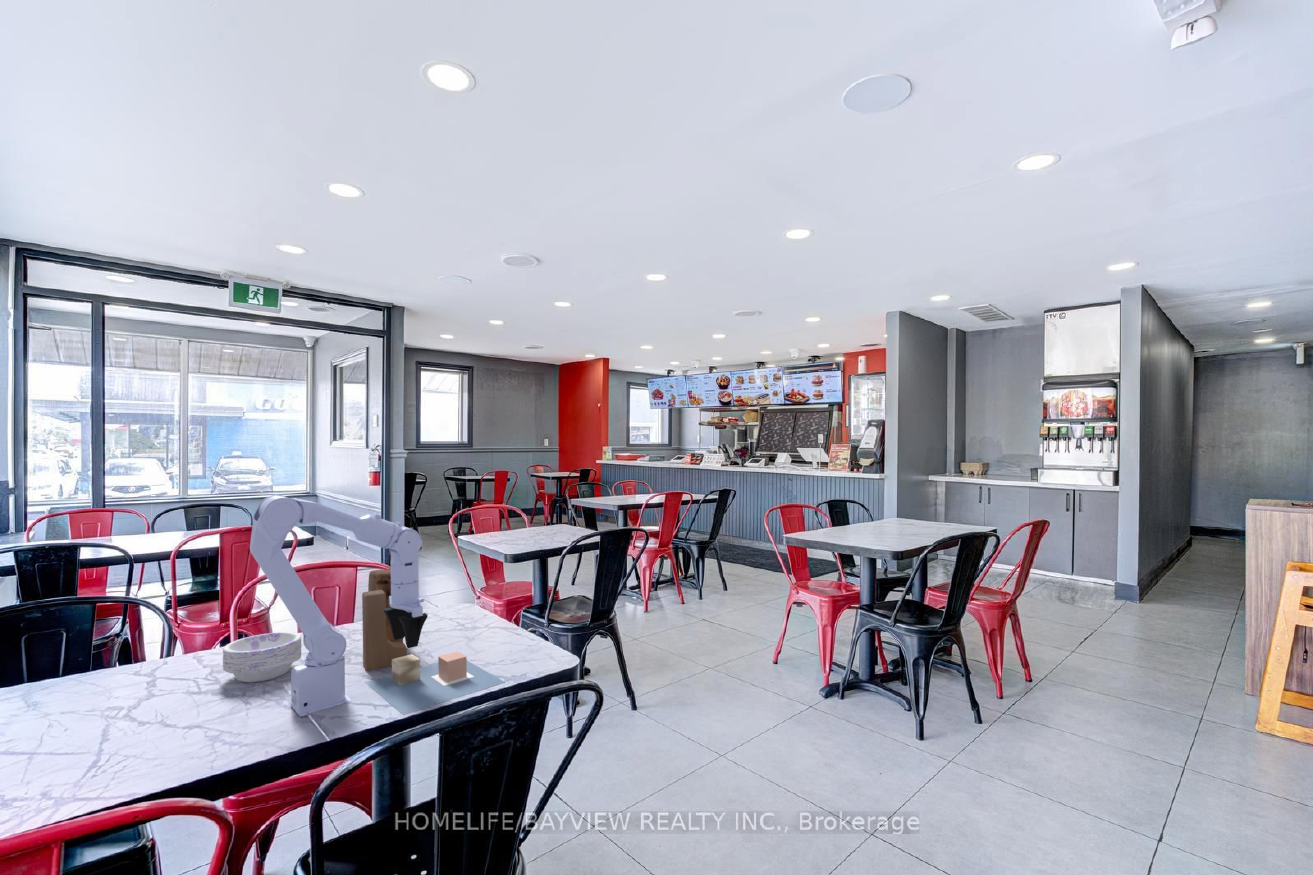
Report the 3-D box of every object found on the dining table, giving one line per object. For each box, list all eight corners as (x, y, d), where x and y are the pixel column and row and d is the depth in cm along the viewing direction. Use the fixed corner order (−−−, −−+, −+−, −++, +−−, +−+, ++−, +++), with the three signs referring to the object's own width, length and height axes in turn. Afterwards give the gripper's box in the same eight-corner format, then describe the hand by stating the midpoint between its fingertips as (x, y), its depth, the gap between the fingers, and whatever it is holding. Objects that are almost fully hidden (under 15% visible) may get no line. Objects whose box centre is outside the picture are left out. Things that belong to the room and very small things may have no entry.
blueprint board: (403, 717, 117) (403, 714, 117) (365, 684, 134) (365, 681, 134) (505, 684, 133) (505, 681, 133) (460, 658, 149) (460, 656, 149)
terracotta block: (447, 682, 133) (447, 661, 133) (438, 676, 136) (438, 656, 136) (466, 676, 136) (466, 656, 136) (457, 671, 139) (457, 651, 139)
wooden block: (403, 659, 149) (402, 586, 148) (407, 665, 145) (406, 590, 145) (362, 668, 143) (361, 592, 143) (366, 674, 140) (365, 596, 140)
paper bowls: (283, 658, 151) (282, 626, 151) (314, 671, 142) (313, 637, 142) (211, 679, 138) (210, 644, 138) (240, 694, 129) (240, 657, 129)
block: (366, 645, 159) (365, 569, 159) (396, 639, 164) (395, 565, 164) (377, 657, 150) (375, 576, 150) (408, 650, 155) (407, 572, 155)
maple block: (399, 685, 131) (399, 664, 131) (392, 679, 135) (391, 659, 135) (420, 679, 135) (419, 659, 135) (412, 674, 138) (412, 654, 138)
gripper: (436, 583, 132) (436, 646, 132) (410, 573, 143) (411, 631, 143) (403, 589, 127) (404, 654, 127) (379, 578, 138) (379, 638, 138)
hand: (405, 642), depth 135 cm, fingers open, 7 cm apart
